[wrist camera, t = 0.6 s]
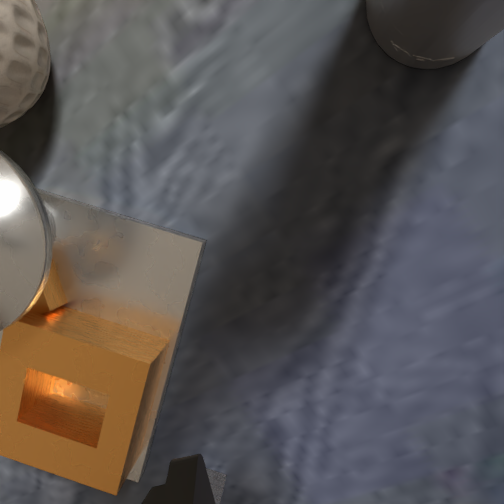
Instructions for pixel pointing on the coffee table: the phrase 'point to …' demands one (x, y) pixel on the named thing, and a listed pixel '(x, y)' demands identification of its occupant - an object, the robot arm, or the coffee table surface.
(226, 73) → the coffee table surface
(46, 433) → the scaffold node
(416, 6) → the robot arm
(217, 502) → the grey rectangular peg
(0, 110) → the vase
